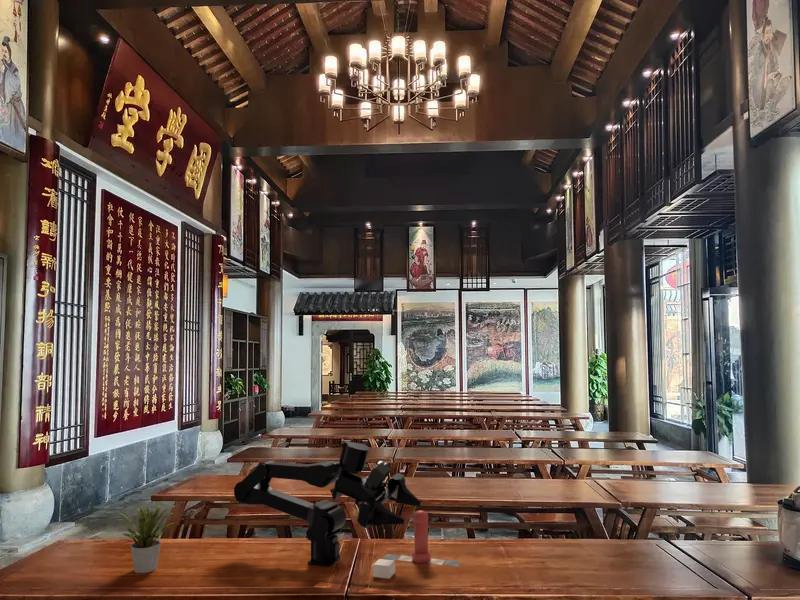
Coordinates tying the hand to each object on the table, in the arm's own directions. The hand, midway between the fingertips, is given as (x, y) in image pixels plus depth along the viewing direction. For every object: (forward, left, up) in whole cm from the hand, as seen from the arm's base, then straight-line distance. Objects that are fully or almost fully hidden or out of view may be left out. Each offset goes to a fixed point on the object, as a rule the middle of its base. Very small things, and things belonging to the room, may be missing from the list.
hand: (412, 512), depth 151 cm
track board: (0, +7, -15) cm, 16 cm away
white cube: (-6, -5, -15) cm, 16 cm away
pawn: (0, +7, -14) cm, 15 cm away
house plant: (-64, -16, -15) cm, 67 cm away
